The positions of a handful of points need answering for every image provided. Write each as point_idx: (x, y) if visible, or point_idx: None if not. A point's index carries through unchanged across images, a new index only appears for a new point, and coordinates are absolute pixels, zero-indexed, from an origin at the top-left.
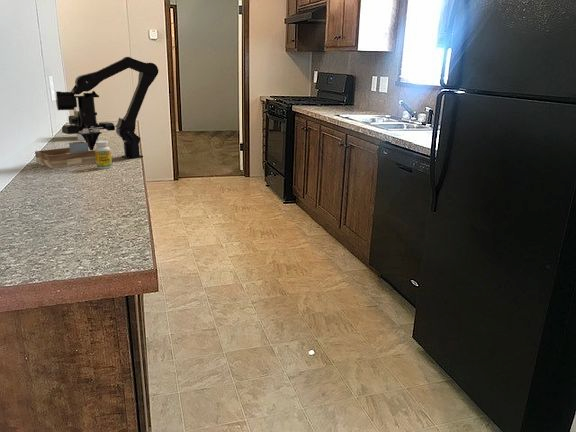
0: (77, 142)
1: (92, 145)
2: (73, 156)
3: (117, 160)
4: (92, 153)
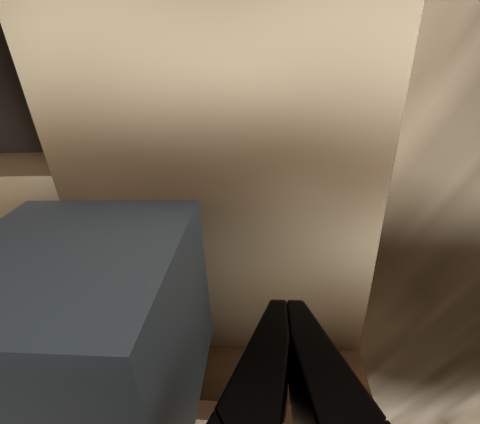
0: (12, 406)
1: (292, 414)
2: None
3: (434, 357)
4: None
